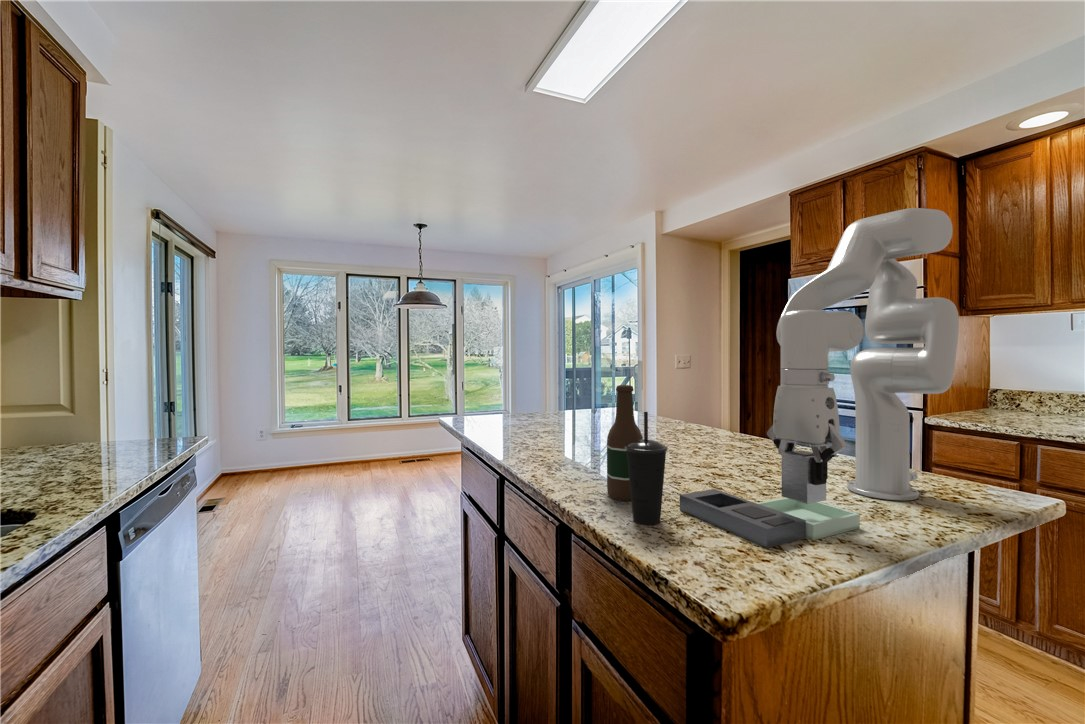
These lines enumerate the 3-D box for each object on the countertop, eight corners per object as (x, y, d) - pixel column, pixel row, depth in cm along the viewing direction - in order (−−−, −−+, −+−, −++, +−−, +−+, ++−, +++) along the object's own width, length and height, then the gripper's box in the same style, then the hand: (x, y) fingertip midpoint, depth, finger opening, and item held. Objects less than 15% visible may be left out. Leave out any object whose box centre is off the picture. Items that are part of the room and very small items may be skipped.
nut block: (800, 492, 86) (800, 449, 86) (826, 500, 81) (826, 454, 81) (781, 496, 84) (781, 451, 84) (807, 503, 79) (807, 456, 79)
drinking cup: (640, 510, 90) (639, 408, 90) (675, 520, 84) (675, 411, 84) (617, 520, 84) (616, 412, 84) (653, 531, 79) (652, 415, 79)
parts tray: (796, 508, 91) (796, 495, 91) (859, 528, 80) (859, 514, 80) (752, 517, 86) (752, 503, 86) (813, 540, 75) (813, 524, 75)
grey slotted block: (714, 503, 94) (714, 488, 94) (805, 538, 76) (805, 519, 76) (679, 509, 90) (679, 494, 90) (767, 548, 72) (766, 528, 72)
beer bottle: (644, 502, 95) (643, 386, 94) (606, 500, 96) (605, 386, 96) (643, 492, 102) (642, 384, 102) (608, 490, 104) (607, 384, 104)
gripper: (866, 380, 76) (866, 490, 77) (777, 377, 92) (776, 468, 92) (837, 381, 73) (837, 495, 73) (749, 377, 89) (749, 471, 89)
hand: (803, 479), depth 83 cm, fingers closed on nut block, 5 cm apart
